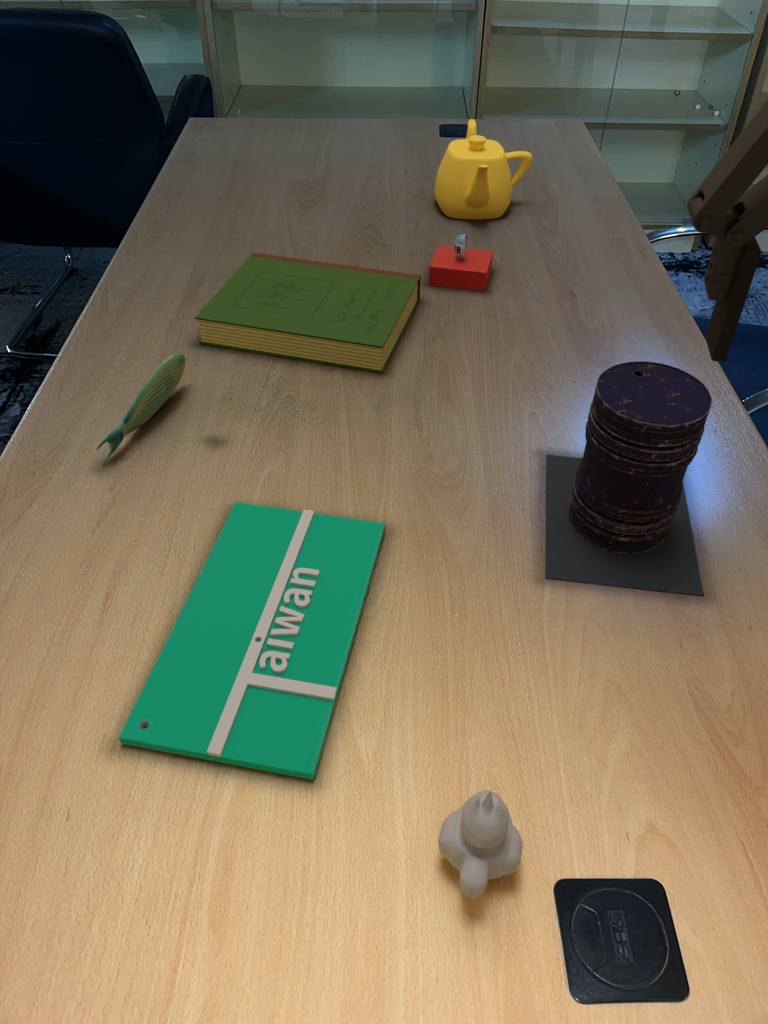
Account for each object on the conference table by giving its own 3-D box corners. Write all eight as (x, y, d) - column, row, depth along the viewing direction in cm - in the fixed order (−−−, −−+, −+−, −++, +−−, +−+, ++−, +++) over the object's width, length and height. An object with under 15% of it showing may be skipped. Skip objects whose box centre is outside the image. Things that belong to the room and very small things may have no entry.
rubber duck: (523, 826, 56) (539, 767, 51) (508, 922, 52) (524, 869, 46) (447, 806, 57) (455, 747, 52) (426, 898, 53) (432, 844, 47)
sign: (312, 771, 58) (117, 735, 60) (313, 780, 59) (121, 743, 61) (385, 520, 77) (235, 499, 79) (385, 529, 78) (236, 508, 80)
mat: (703, 596, 72) (703, 595, 72) (545, 578, 73) (545, 577, 73) (680, 468, 85) (680, 467, 85) (546, 455, 86) (546, 454, 86)
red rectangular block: (428, 284, 114) (430, 242, 110) (437, 263, 119) (439, 221, 115) (484, 291, 113) (488, 248, 109) (491, 269, 118) (495, 227, 113)
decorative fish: (95, 433, 80) (189, 475, 80) (176, 332, 91) (257, 369, 91) (95, 474, 85) (183, 512, 85) (171, 373, 96) (248, 408, 96)
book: (419, 300, 111) (420, 275, 108) (382, 373, 98) (382, 346, 95) (250, 276, 116) (247, 251, 113) (193, 342, 103) (189, 316, 100)
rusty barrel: (688, 545, 76) (736, 418, 66) (592, 562, 75) (626, 434, 64) (640, 479, 83) (677, 354, 73) (552, 493, 82) (576, 367, 72)
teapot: (536, 233, 127) (546, 162, 119) (437, 233, 127) (441, 162, 119) (517, 180, 143) (525, 114, 136) (430, 179, 143) (433, 114, 135)
